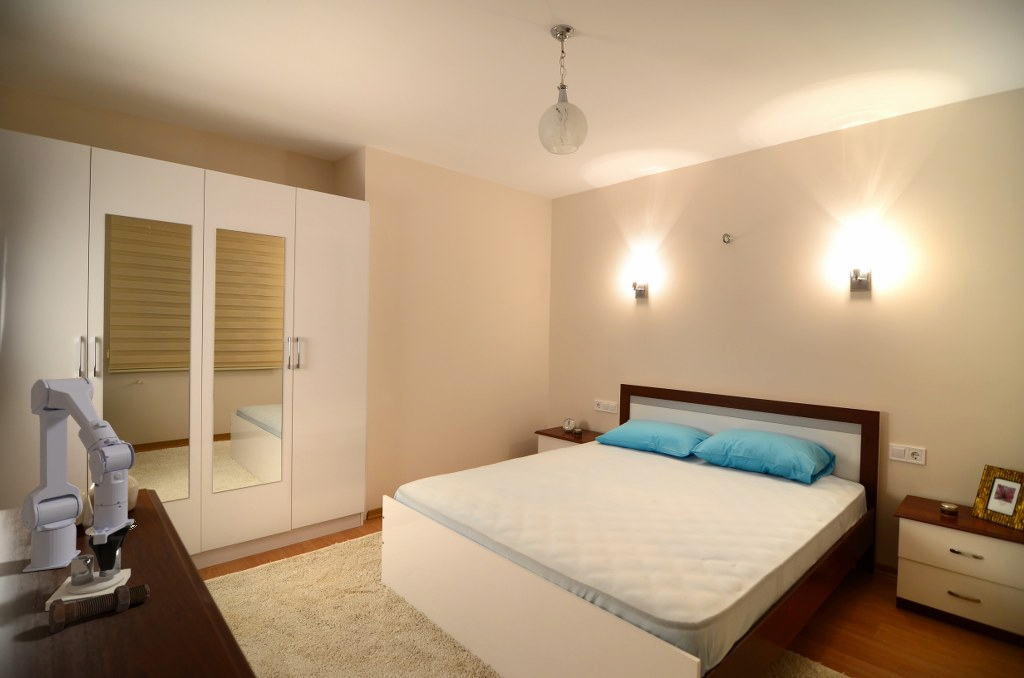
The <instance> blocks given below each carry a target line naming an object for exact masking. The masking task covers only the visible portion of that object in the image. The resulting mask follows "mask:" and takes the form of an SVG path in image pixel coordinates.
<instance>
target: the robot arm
mask: <svg viewBox="0 0 1024 678" xmlns="http://www.w3.org/2000/svg"><path fill="white" fill-rule="evenodd" d="M94 395H95V389H94V384H93V381H92V380H91V379H90V378H89V377H87V376H83V377H75V378H73V377H72V378H71V377H69V378H56V379H55V378H53V379H43V378H40V379H39V378H38V379H37V380H36V381H35V382H34V384H33V385H32V386H31V389H30V410H31V414H33V415H37V416H38V417H39V485H38V486H36V487H35V488H34V489H32V490H31V491H30V492H28V493H27V494H26V495H24V497H23V501H22V502H23V504H22V508H21V512H20V518H21V519H20V520H21V523H22V525H23V527H24V528H25V529H27V530H29V531H31V533H30V534H31V539H30V541H31V542H30V543H31V548H30V563H29V564H28V565H27V566H26V567H25V568H23V569H22V572H23V573H28V572H36V571H44V570H51V569H52V570H53V569H60V568H61V569H62V568H66V567H68V566H70V565H71V560H72V559H73V558H75V557H77V556H79V554H80V553H81V552H82V551H81V550H80V549H77V527H76V524H75V523H76V522H77V521H76V520H77V519H78V518H79V517H80V516H81V515H82V512H83V505H84V504H83V500H82V497H81V490H80V488H79V487H78V486H77V485H74V484H71V483H69V482H68V417H70V416H71V418H72V419H73V420H74V421H75V422H76V424H77V425H78V426H79V428H80V429H79V430H78V432H77V433H78V434H77V435H78V438H79V440H80V441H81V443H82V444H83V446H84V448H85V450H86V451H87V453H88V456H89V457H88V468H89V470H90V474H91V475H90V476H91V477H90V480H91V483H94V484H93V485H94V486H93V487H94V488H93V493H94V494H93V524H92V525H91V527H92V530H93V532H94V536H90V538H89V539H88V542H87V543H88V546H89V547H90V548H91V549H92V551H93V553H94V555H95V557H96V560H97V565H98V569H99V568H100V571H107V570H113V568H114V565H115V561H116V555H117V550H118V547H121V554H122V552H123V549H124V544H125V540H126V538H127V536H128V534H129V532H130V530H131V529H130V528H131V525H132V524H133V523H134V521H135V519H134V518H130V519H129V518H128V512H129V511H128V510H129V507H128V506H129V504H128V503H129V470H130V469H132V468H133V467H134V465H135V462H136V461H135V460H136V455H135V450H134V447H133V445H132V444H131V443H129V442H125V440H124V439H123V440H122V439H120V438H119V437H118V435H117V433H116V432H115V430H114V428H112V426H111V424H110V423H109V422H108V421H107V420H104V419H103V420H102V419H100V416H99V415H98V413H97V410H96V408H95V406H94V403H93V398H94V397H93V396H94Z"/></svg>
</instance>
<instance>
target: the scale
mask: <svg viewBox="0 0 1024 678" xmlns="http://www.w3.org/2000/svg"><path fill="white" fill-rule="evenodd" d="M131 569H132V568H124V569H120V572H119V573H118V574H116V575H113V576H109V577H100V576H99V570H98V571H93V581H92V582H90V583H88V584H85V585H80V586H72V585H71V576H68V577H67V578H66V580H64V582H63V583H62V584H61V585H60V586H59V587H58V588H57V590H55V592H54V593H53V594H52V595H51V596H50V598H49V599H48V600H47V601H46V602H45V609H44V610H45V612H47V611H48V612H49V607H50V604H51V603H52V602H53V600H57V599H62V600H63V602H64V604H68V603H72V602H78V601H83V600H86V599H90V598H94V597H98V596H101V595H102V596H103V595H105V594H106V595H107V594H109V593H114V590H115V588H116V587H118V586H121V585H126V583H127V582H128V580H129V579H130V577H131V572H132V571H131Z"/></svg>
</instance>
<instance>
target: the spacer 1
mask: <svg viewBox="0 0 1024 678" xmlns="http://www.w3.org/2000/svg"><path fill="white" fill-rule="evenodd" d="M94 555H95V554H82V555H77V556H76V557H75V558H73V559H72V560H71V563H70V567H71V568H70V577H71V585H72V586H80V585H85V584H88V583H90V582H92V581H93V572H94V568H95V567H94V564H95V562H94V560H95V558H94V557H95V556H94Z"/></svg>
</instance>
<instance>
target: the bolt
mask: <svg viewBox="0 0 1024 678" xmlns="http://www.w3.org/2000/svg"><path fill="white" fill-rule="evenodd" d="M150 592H151V589H150V587H149V585H148V583H147V584H146V583H145V584H142V585H141V584H140V585H137V586H133V587H129V586H128V585H126V584H125V585H121V586H118V587H116V588H115V590H114V593H109V594H107V595H106V594H105V595H103V596H102V595H101V596H98V597H94V598H90V599H86V600H83V601H78V602H72V603H68V604H64V602H63V600H62V599H57V600H53V602H52V603H51V604H50V607H49V611H48V624H49V625H48V626H49V631H50V633H52V634H57V633H61V632H63V630H64V627H65V624H69V623H73V622H75V621H77V620H78V621H79V620H81V619H85V618H88V617H91V616H95V615H99V614H103V613H106V612H109V611H112V610H113V611H115V613H118V614H119V613H123V612H125V610H126V611H127V610H128V609H129V608H130V605H135V604H137V603H143V602H145V601H148V600H149V599H150Z"/></svg>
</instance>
